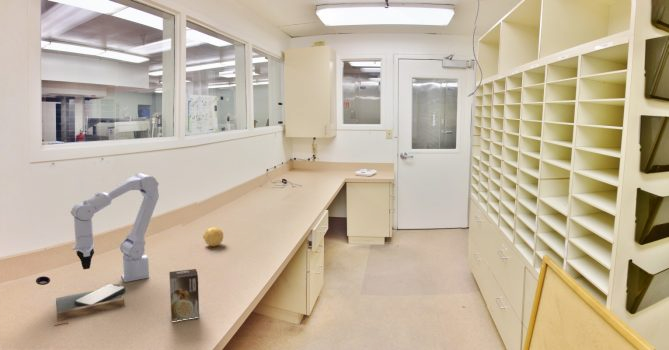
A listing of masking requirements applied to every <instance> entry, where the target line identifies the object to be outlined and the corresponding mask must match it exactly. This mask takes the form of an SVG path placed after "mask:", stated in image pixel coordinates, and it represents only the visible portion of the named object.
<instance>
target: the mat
mask: <svg viewBox="0 0 669 350" xmlns="http://www.w3.org/2000/svg"><path fill="white" fill-rule="evenodd" d="M93 291H94V290H91V291H90V290H89V291H86V292H82V293H81V292H80V293H76V294H71V295H66V296H62V297H61V296H60V297H56V309H57V310H56V311H57V312H59V311H63V310H68V309H73V308H77V307H82V306H77V305H75V303H74V301H75V300H77V299H79V298H81V297H83V296H85V295H87V294H89V293H91V292H93ZM121 294H122V293H120V294H118V295H116V296H114V297H112V298H111V299H109V300H107V301H110V300H115V299H120V298H123V297H122V295H121ZM105 302H106V301H105Z"/></svg>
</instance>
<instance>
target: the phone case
mask: <svg viewBox="0 0 669 350" xmlns="http://www.w3.org/2000/svg"><path fill="white" fill-rule="evenodd" d="M92 291H93V292H91V293H89V294H87V295H85V296H83V297H81V298H79V299H77V300H75V301H74V303H75V305H77V306H87V305H91V304H96V303H101V302H105V301H107V300H109V299H111V298H112V297H114V296H116V295H118V294H122V293H125V291H126V286H124V285H119V284H114V283H107V284H106V285H103V286H102V287H100V288H97V289H96V290H92Z"/></svg>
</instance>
